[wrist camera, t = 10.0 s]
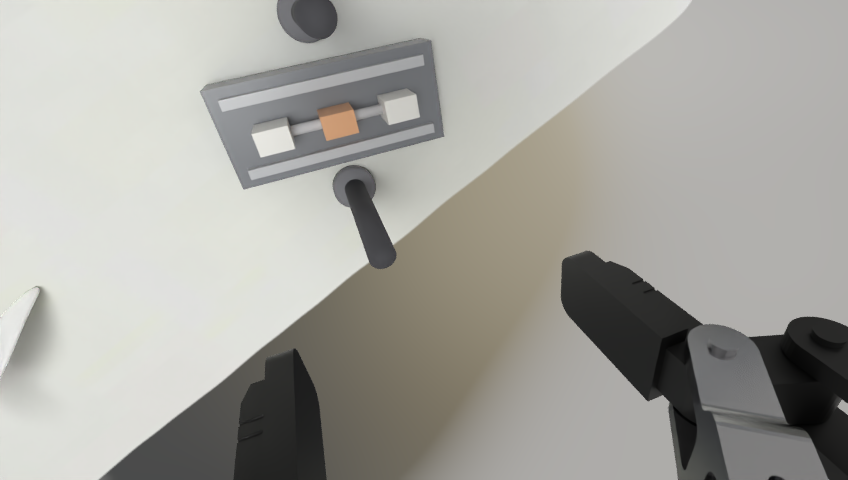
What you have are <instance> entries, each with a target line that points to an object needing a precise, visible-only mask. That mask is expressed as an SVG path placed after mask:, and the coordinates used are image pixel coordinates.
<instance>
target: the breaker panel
mask: <svg viewBox="0 0 848 480" xmlns="http://www.w3.org/2000/svg"><path fill="white" fill-rule="evenodd" d="M406 88H407V89H409V90H410V91H412V92H413V93H415V94H416V96H417V102H418V108H419V114H420V117H419V118H415V119H411V120H407V121H403V122H400V123H396V124H392V125H388V124H387V123H386V121H385V120H384V119H383V118H382V117H381V115H377V116H373V117H369V118H365V119H361V120H357V125H358V129H359V133H356V134H352V135H348V136H344V137H340V138H336V139H332V140H329V141H326V138H325V135H324V132H323V129H320V130H316V131H312V132H308V133H304V134H300V135H296V136H294V140H295V149H293V150H289V151H285V152H281V153H277V154H273V155H269V156H265V157H260V154H259V152H258V150H257V147H256V145H255V142H254V140H253V137H252V135H251V134H252V129H253V125H255V124H259V123H264V122H268V121H272V120H276V119H280V118H284V117H287V119H288V122H289V125H290V126H292V125H296V124H300V123H304V122H308V121H312V120H316V119H319V116H318V112H317V110H318V109H322V108H326V107H330V106H335V105H339V104H343V103H347V102H349V104H350V105H351V107H352V108H353V109H354V110H357V109H362V108H366V107H370V106H374V105H378V104H379V103H378V99H377V95H381V94H385V93H389V92H393V91H397V90H402V89H406ZM200 93H201V95H202V97H203V100H204V102H205V104H206V106H207V109H208V111H209V113H210V115H211V118H212V120H213V122H214V124H215V127H216V129H217V131H218V133H219V136H220V138H221V140H222V142H223V145H224V147H225V149H226V151H227V154H228V156H229V158H230V160H231V162H232V165H233V167H234V169H235V171H236V174H237V176H238V178H239V180H240V183H241V185H242V187H243V189H248V188H251V187H255V186H259V185H263V184H266V183H270V182H274V181H278V180H282V179H285V178H289V177H293V176H297V175H300V174H304V173H308V172H312V171H316V170H319V169H323V168H327V167H331V166H334V165H338V164H342V163H346V162H350V161H353V160H357V159H361V158H365V157H368V156H372V155H376V154H380V153H384V152H387V151H391V150H395V149H399V148H402V147H406V146H410V145H414V144H418V143H421V142H425V141H429V140H433V139H436V138H440V137H444V132H443V125H442V117H441V110H440V103H439V96H438V88H437V81H436V74H435V67H434V59H433V52H432V45H431V41H430V40H426V39H422V38H419V39H414V40H410V41H405V42H401V43H396V44H391V45H387V46H382V47H378V48H373V49H369V50H364V51H359V52H355V53H350V54H346V55H341V56H337V57H332V58H327V59H323V60H318V61H314V62H309V63H305V64H300V65H295V66H291V67H286V68H282V69H277V70H273V71H268V72H263V73H259V74H254V75H250V76H245V77H240V78H236V79H231V80H227V81H222V82H218V83H213V84H208V85H206V86H205V87H204V88H203V89H202V90H201V91H200Z"/></svg>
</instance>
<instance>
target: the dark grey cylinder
mask: <svg viewBox="0 0 848 480" xmlns="http://www.w3.org/2000/svg"><path fill="white" fill-rule="evenodd" d="M277 14H278V19H279V21H280V24H281V26H282V27H283V29H284V30H285V31H286V33H287V34H288V35H290V36H291V37H292V38H294V39H295V40H297V41H300V42H305V43H311V42H315V41H318V40H320V39H324V38H327V37H329V36H330V35H331V34H332V33H333V32H334V30H335V29H336V26H337V13H336V10H335V7H334V6H333V4H332V3H331V2H330V1H329V0H278V3H277Z"/></svg>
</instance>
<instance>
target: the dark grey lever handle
mask: <svg viewBox="0 0 848 480" xmlns="http://www.w3.org/2000/svg"><path fill="white" fill-rule="evenodd" d="M333 190H334V193H335V196H336V198H337V200H338V201H339V202H340V203H341V204H343V205H344V206H347V207H350V208H351V210H352V213H353V216H354V219H355V222H356V225H357V228H358V231H359V234H360V237H361V239H362V242H363V245H364V248H365V251H366V254H367V257H368V260H369V262H370V264H371V265H372V266H373V267H375V268H378V269H383V268H387V267H389V266H390V265H392V264H393V263H394V261H395V259H396V251H395V249H394V247H393V245H392V242H391V240H390V238H389V236H388V234H387V232H386V230H385V227H384V225H383V223H382V221H381V219H380V217H379V214H378V212H377V210H376V208H375V206H374V204H373V202H372V198H373V196H374V194H375V190H376V186H375V181H374V179H373V177H372V175H371V174H370V172H369V171H368V170H366V169H365V168H363V167H361V166H355V165H352V166H347V167H345V168H343V169H341V170H340V171H339V172H338V173H337V174H336V176H335V178H334V180H333Z"/></svg>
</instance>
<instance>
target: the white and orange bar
mask: <svg viewBox="0 0 848 480" xmlns="http://www.w3.org/2000/svg"><path fill="white" fill-rule="evenodd" d="M377 99H378V103H379V104H378V105H374V106H370V107H366V108H362V109H357V110H354V109H353V108H352V107H351V105H350V104H349V102H347V103H343V104H339V105H335V106H330V107H326V108H322V109H318V110H317V112H318V116H319V119H316V120H312V121H308V122H304V123H300V124H296V125H292V126H290V125H289V122H288V119H287V117H284V118H280V119H276V120H272V121H268V122H264V123H259V124H255V125H253V129H252V134H251V135H252V137H253V140H254V142H255V145H256V147H257V150H258V152H259V154H260V157H265V156H269V155H273V154H277V153H281V152H285V151H289V150H293V149H295V140H294V136H296V135H300V134H304V133H308V132H312V131H316V130H320V129H323V132H324V135H325V138H326V141H329V140H332V139H336V138H340V137H344V136H348V135H352V134H356V133H359V129H358V125H357V120H361V119H365V118H369V117H373V116H377V115H381V117H382V118H383V119H384V120H385V121H386V123H387V124H388V125H392V124H396V123H400V122H403V121H407V120H411V119H415V118H419V117H420V114H419V108H418V102H417V96H416V94H415V93H413V92H412V91H410V90H409V89H407V88H406V89H402V90H397V91H393V92H389V93H385V94H381V95H377Z"/></svg>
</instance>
